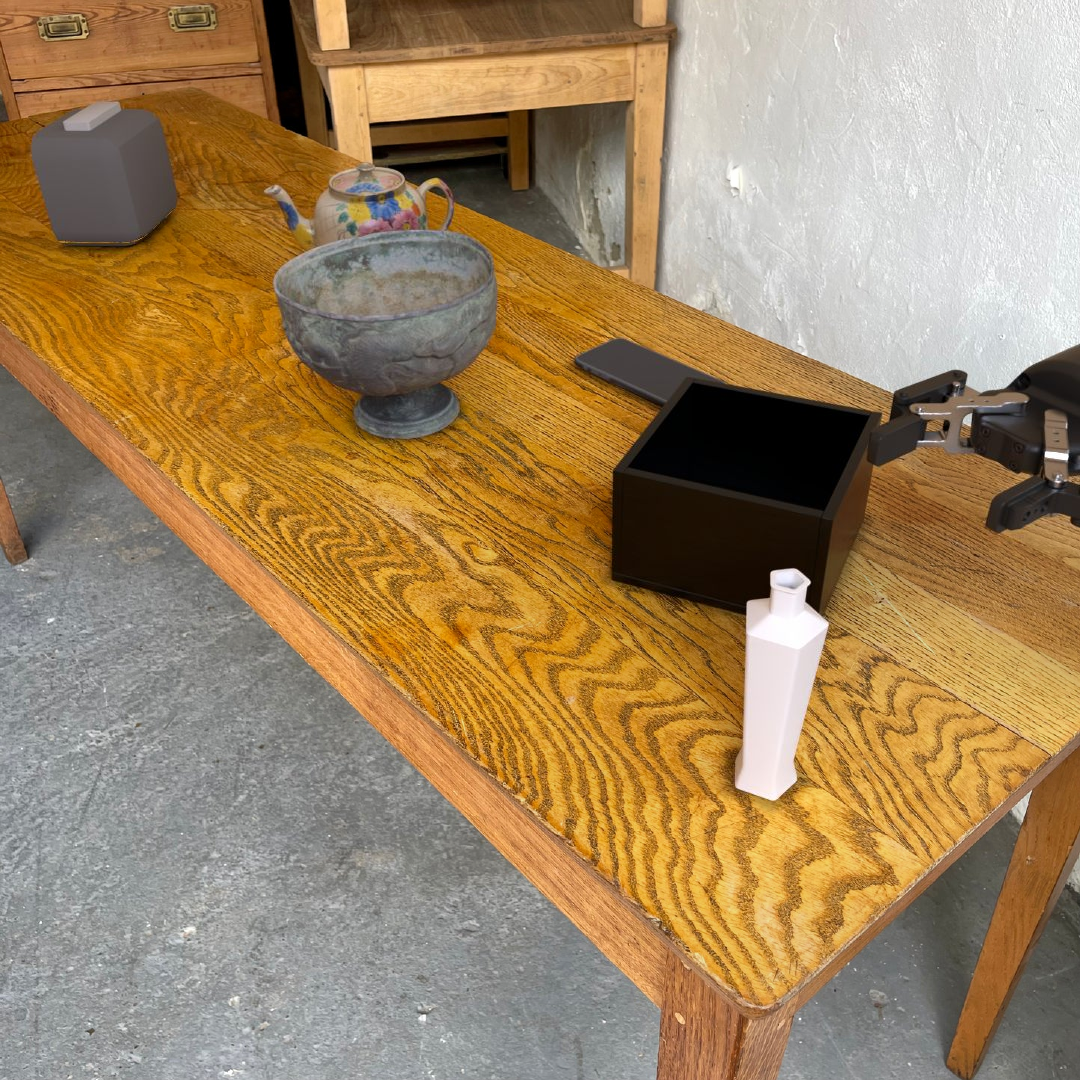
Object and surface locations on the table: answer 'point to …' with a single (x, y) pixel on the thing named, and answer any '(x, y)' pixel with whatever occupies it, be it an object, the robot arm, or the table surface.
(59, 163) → the alarm clock
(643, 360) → the smartphone
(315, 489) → the table surface
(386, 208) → the teapot
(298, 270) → the bowl
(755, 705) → the perfume bottle
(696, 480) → the open box
